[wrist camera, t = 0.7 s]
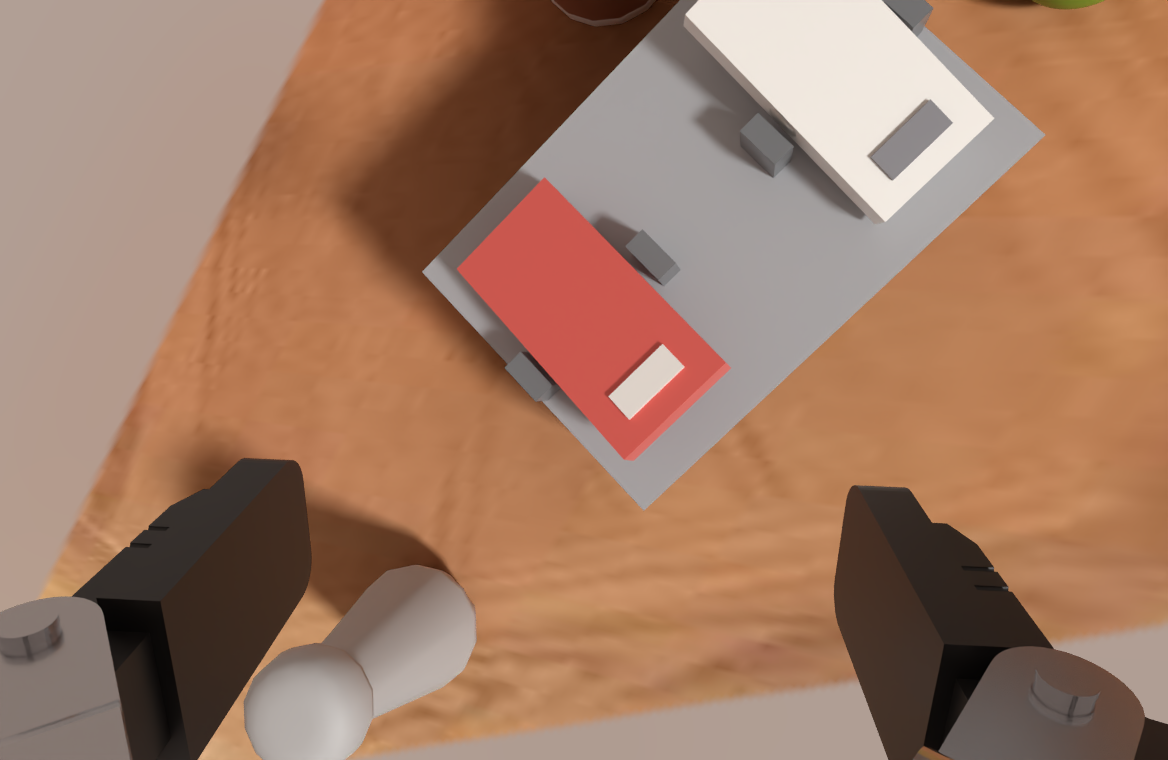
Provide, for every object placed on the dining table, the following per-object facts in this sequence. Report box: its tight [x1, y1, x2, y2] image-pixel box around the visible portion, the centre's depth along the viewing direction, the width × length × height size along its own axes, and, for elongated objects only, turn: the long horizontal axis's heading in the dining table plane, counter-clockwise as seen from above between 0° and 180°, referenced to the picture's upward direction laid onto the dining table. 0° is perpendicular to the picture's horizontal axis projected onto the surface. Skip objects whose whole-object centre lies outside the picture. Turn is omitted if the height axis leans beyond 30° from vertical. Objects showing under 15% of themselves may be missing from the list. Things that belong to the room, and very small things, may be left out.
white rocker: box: [684, 0, 994, 224], centre depth 26 cm, size 4×9×1 cm, turn 44°
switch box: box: [422, 0, 1045, 510], centre depth 32 cm, size 18×12×11 cm, turn 134°
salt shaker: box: [244, 565, 476, 760], centre depth 34 cm, size 6×6×13 cm
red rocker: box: [457, 177, 731, 461], centre depth 27 cm, size 4×9×1 cm, turn 44°
